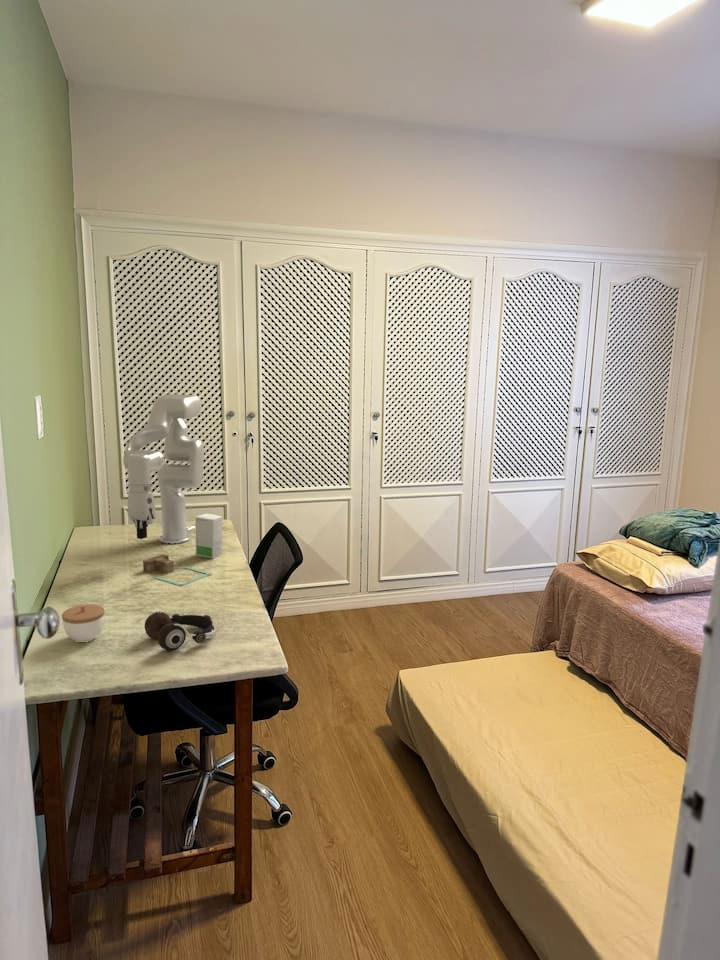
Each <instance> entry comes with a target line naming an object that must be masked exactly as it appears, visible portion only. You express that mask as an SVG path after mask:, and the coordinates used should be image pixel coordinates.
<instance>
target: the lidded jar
mask: <svg viewBox="0 0 720 960" xmlns="http://www.w3.org/2000/svg"><path fill="white" fill-rule="evenodd" d="M61 619H62V625H63V626H62V627H63V629H64V632H65V635H67V636H68V638H69V639H71V640H72V641H73V640H74V641H77V642H86V641H90V642H92V641H91V640H93V639H95V638H96V637H97V638H98V636H99V635H100V634H101V632H102V631H103V629H104V625H105V608H104V607H103V606H102V605H99V604H88V603H87V604H82V605H81V604H80V605H79V604H78V605H75V606H72V607H70V608H67V609H65V610H64V611H63V613H62V614H61ZM97 638H96V639H97ZM96 639H95V640H96ZM74 641H73V642H74ZM93 641H94V640H93ZM77 642H76V643H77ZM86 643H87V642H86Z"/></svg>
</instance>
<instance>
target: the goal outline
mask: <svg viewBox="0 0 720 960" xmlns="http://www.w3.org/2000/svg"><path fill="white" fill-rule="evenodd" d="M182 567H183V568H182V569H186V568H187V569H186V570H189V569H191V570H190V571H193V570H194V572H196V571H198V572H197V573H200V572H201V573H200V574H203V575H201V576H199V577H196V578H194V579H191V580H188V581H186V582H184V583H179V582H175V581H173V580H168V579H165V578H162V577H158V576H153V579H157V580H160V581H162V582H166V583H170V584H173V585H176V586H179V587H183V586H186V585H187V584H190V582H191V583H193V582H196V581H198V580H201V579H203V578H205V576H206V577H209V576H211V575H210V574H211V573H210V572H205V571H202V570H199V569H195V568H193V567H188V566H185V565H183V566H182ZM204 573H205V574H204ZM208 575H209V576H208ZM202 577H203V578H202ZM200 578H201V579H200ZM197 579H198V580H197ZM195 580H196V581H195ZM192 581H193V582H192ZM185 584H186V585H185Z"/></svg>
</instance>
